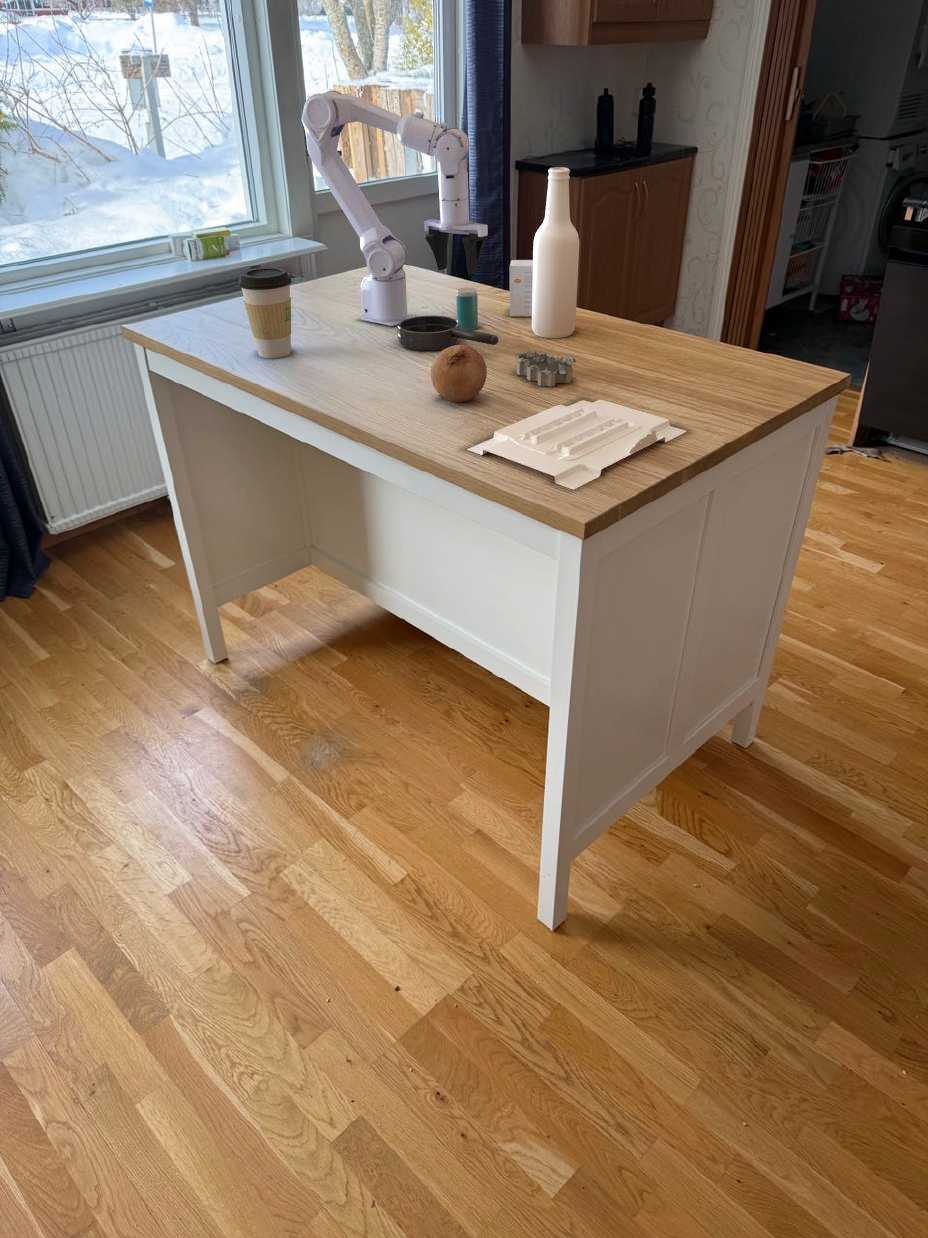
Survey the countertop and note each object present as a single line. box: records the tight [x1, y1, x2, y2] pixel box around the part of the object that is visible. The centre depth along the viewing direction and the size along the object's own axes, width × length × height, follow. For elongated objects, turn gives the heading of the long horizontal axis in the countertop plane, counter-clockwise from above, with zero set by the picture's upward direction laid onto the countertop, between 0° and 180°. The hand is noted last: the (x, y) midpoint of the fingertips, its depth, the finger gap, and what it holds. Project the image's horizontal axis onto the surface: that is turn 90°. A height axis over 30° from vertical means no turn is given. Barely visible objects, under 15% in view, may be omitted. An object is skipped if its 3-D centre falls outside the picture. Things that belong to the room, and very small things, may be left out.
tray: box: [466, 399, 687, 490], centre depth 135 cm, size 20×28×4 cm
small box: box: [509, 259, 533, 318], centre depth 191 cm, size 8×6×10 cm
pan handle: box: [451, 327, 499, 346], centre depth 171 cm, size 11×2×2 cm, turn 53°
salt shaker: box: [455, 287, 479, 331], centre depth 184 cm, size 4×4×8 cm
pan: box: [397, 315, 461, 352], centre depth 177 cm, size 12×12×4 cm
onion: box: [430, 344, 488, 403], centre depth 149 cm, size 10×9×10 cm
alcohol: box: [531, 166, 580, 339], centre depth 174 cm, size 9×9×30 cm
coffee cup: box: [238, 266, 293, 359], centre depth 170 cm, size 10×10×15 cm
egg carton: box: [513, 350, 577, 388], centre depth 158 cm, size 11×8×4 cm
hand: (457, 271), depth 183 cm, fingers open, 7 cm apart
